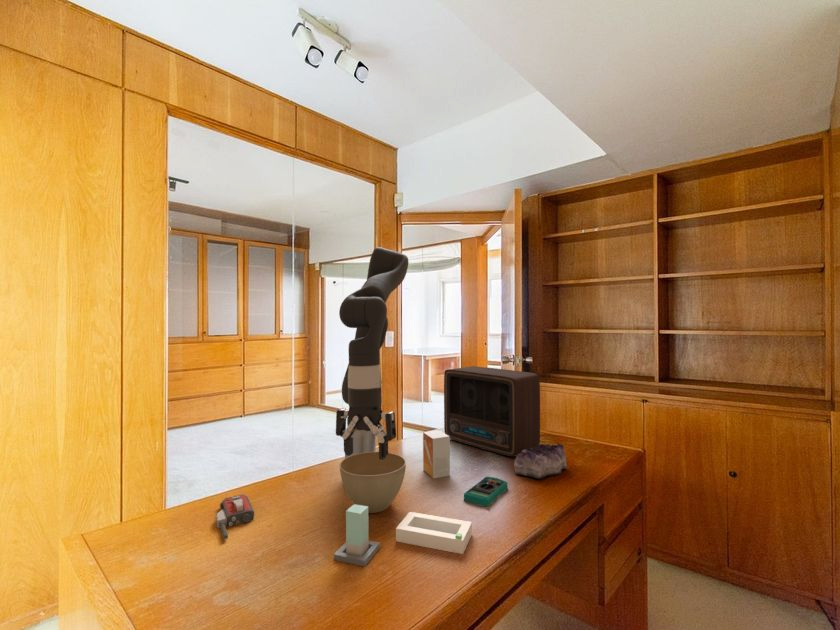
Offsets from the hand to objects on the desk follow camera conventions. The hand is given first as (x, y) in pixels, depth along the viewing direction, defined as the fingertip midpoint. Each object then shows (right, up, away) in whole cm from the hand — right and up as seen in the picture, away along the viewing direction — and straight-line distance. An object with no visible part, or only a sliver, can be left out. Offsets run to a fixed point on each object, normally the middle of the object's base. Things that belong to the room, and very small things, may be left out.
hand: (365, 456), depth 95 cm
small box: (+18, -21, +45) cm, 53 cm away
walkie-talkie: (-36, -22, +13) cm, 44 cm away
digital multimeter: (+32, -21, +28) cm, 47 cm away
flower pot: (-1, -21, +21) cm, 30 cm away
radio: (+40, -21, +74) cm, 87 cm away
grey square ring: (-2, -21, -2) cm, 21 cm away
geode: (+53, -21, +46) cm, 73 cm away
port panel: (+16, -21, +4) cm, 26 cm away
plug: (-2, -21, -2) cm, 21 cm away
